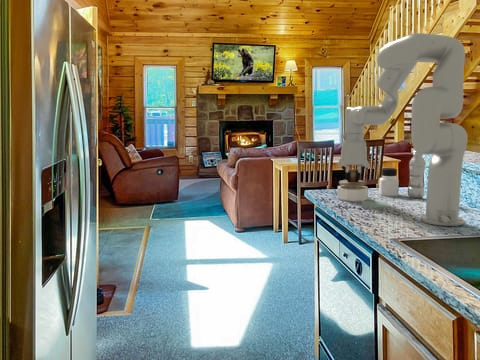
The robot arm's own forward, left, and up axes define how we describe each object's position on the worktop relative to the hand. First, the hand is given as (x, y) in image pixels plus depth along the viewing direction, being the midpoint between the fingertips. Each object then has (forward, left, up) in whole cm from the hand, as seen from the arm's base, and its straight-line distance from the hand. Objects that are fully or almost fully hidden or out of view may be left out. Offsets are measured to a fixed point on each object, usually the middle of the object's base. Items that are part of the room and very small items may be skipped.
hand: (352, 181), depth 168 cm
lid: (0, 0, -1) cm, 1 cm away
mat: (-11, -8, -8) cm, 16 cm away
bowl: (0, 0, -8) cm, 8 cm away
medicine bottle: (+12, -16, -8) cm, 21 cm away
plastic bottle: (+6, -26, -8) cm, 28 cm away
